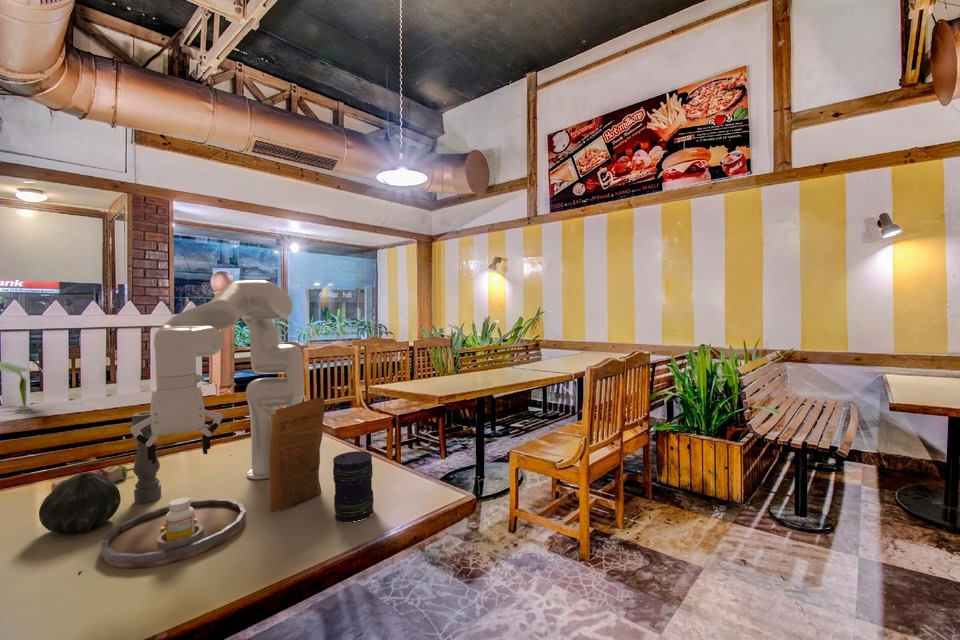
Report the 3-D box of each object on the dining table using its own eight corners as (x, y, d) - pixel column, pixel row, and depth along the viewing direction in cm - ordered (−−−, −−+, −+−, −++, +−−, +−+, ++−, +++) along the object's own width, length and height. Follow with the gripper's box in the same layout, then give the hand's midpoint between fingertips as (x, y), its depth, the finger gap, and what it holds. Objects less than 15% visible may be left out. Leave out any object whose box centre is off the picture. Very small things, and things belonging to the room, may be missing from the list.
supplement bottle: (175, 538, 102) (174, 496, 102) (200, 536, 102) (198, 495, 102) (161, 550, 96) (159, 506, 96) (186, 549, 97) (185, 505, 97)
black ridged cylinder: (381, 508, 118) (379, 452, 117) (359, 525, 108) (357, 465, 108) (349, 503, 121) (348, 449, 121) (326, 520, 112) (324, 461, 111)
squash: (63, 496, 117) (44, 466, 108) (132, 488, 123) (119, 459, 114) (42, 551, 108) (19, 523, 98) (118, 539, 113) (103, 512, 104)
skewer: (58, 500, 129) (57, 483, 128) (50, 496, 132) (49, 479, 132) (141, 476, 146) (140, 461, 146) (132, 473, 150) (131, 458, 150)
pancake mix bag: (334, 491, 130) (331, 396, 129) (275, 517, 114) (271, 410, 113) (319, 486, 133) (316, 395, 133) (260, 512, 117) (256, 407, 117)
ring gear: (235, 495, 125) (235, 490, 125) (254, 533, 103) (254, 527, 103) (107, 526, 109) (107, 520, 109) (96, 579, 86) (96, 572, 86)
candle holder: (146, 505, 123) (143, 416, 123) (128, 503, 125) (125, 415, 124) (166, 495, 129) (163, 411, 129) (149, 494, 131) (145, 410, 130)
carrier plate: (235, 499, 125) (235, 486, 125) (254, 538, 103) (254, 523, 103) (107, 531, 109) (106, 516, 109) (96, 585, 86) (95, 567, 86)
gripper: (218, 376, 108) (221, 445, 108) (128, 385, 97) (132, 461, 98) (223, 380, 102) (226, 453, 102) (127, 390, 91) (131, 471, 92)
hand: (180, 457), depth 100 cm, fingers open, 9 cm apart
